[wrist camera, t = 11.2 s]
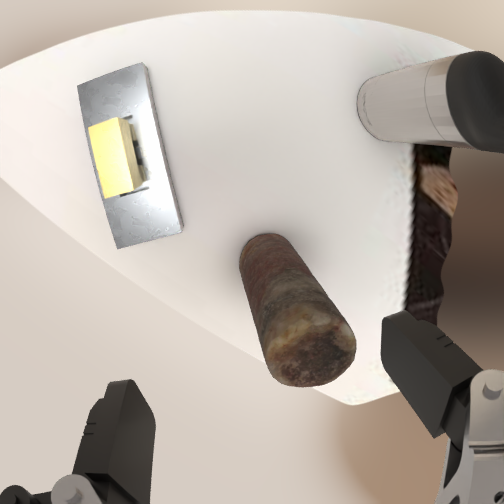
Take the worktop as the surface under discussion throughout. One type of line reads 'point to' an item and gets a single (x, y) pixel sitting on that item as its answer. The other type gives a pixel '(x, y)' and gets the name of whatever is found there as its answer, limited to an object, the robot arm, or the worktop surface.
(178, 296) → the worktop surface
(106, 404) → the robot arm
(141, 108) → the grey slotted base
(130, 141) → the yellow block
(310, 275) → the brown cylinder
